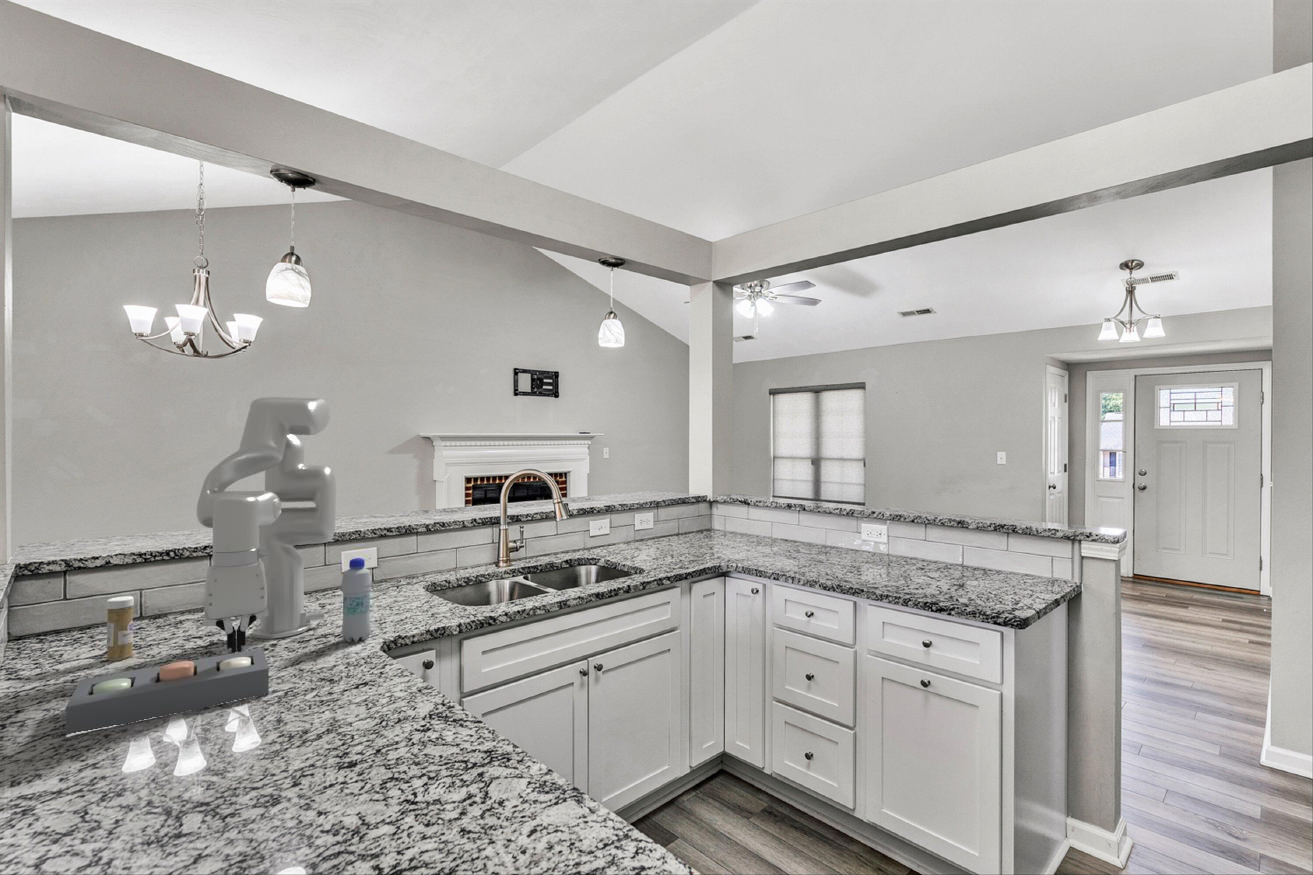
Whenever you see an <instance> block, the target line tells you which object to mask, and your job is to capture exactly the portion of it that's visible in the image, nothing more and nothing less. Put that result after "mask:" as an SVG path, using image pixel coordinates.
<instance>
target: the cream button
mask: <svg viewBox="0 0 1313 875" xmlns="http://www.w3.org/2000/svg"><path fill="white" fill-rule="evenodd" d="M249 665H251V658H249V657H238V658H232V659H228V660H225V661H223V662H221V663H220V671H222V670H228V669H233V668H238V667H244V666H249Z"/></svg>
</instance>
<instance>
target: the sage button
mask: <svg viewBox="0 0 1313 875" xmlns="http://www.w3.org/2000/svg"><path fill="white" fill-rule="evenodd" d="M126 688H131V679H127V678H122V679H114V680H109V681H105V682H102V683H99V684H97V685H95V686H94V687H93V695H94V694H99V693H104V692H110V691H115V690H120V689H126Z"/></svg>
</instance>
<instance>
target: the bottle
mask: <svg viewBox="0 0 1313 875" xmlns="http://www.w3.org/2000/svg"><path fill="white" fill-rule="evenodd" d="M365 565H366V564H365V559H363V558H361V557H356V558H352V559H350V560H349V563H348V566H349V569H347V570H346V571H344V572H343V573H342V580H341V592H342V625H341V635H342V636H341V637H342V640H344V641H345V642H347V643H351V642H352V639H353V641H354V643H357V642H359V639H360V640H361V641H365V640H366V639H368V638H369V636H370V634H371V625H372V624H371V613H370V612H371V611H370V610H371V609H370V608H371V605H370V604H371V599H370V598H371V590H372V582H373V581H372V577H371V571H370V570H369V569H368V568H365ZM367 637H368V638H367Z"/></svg>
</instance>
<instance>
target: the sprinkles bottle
mask: <svg viewBox="0 0 1313 875" xmlns="http://www.w3.org/2000/svg"><path fill="white" fill-rule="evenodd" d="M134 604H135V600H134V597H133V596H130V595H127V596H125V595H124V596H117V597H112V598H109V599H107V601H106V605H105V606H106V611H107V623H106V647H107V650H106V651H107V654H106V655H107V656H106V660H107V661H109V662H115V661H116V662H117V661H123V660H126V659H129V658H131V657H132V656H134V652H133V649H134V648H133V641H134V621H133V620H134V619H133V617H134V616H133V614H134V613H133V612H134V611H133V610H134V608H133V607H134Z"/></svg>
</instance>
